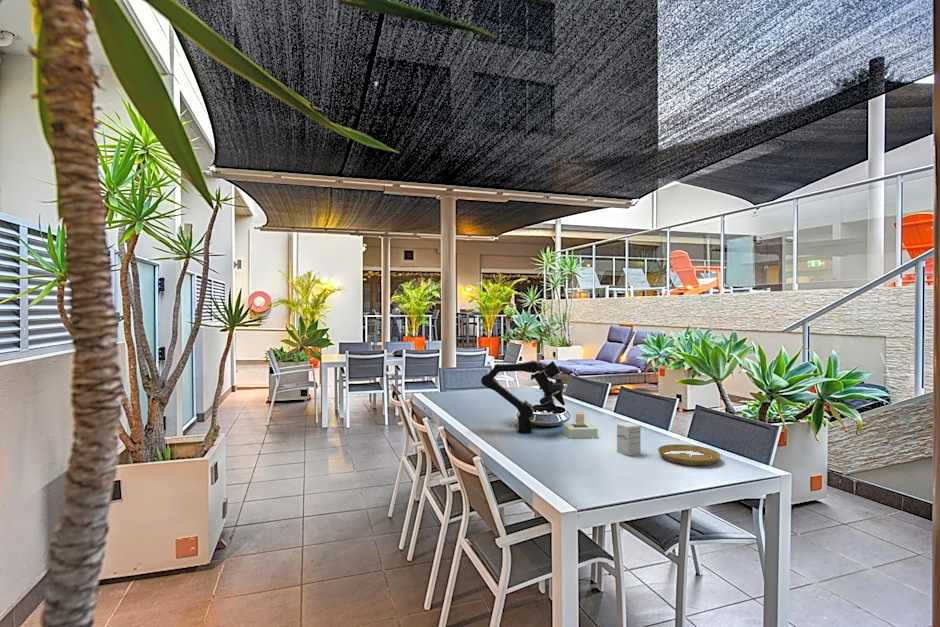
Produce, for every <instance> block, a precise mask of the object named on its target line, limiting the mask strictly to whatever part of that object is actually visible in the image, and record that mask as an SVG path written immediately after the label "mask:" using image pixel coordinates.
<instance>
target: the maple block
mask: <svg viewBox="0 0 940 627" xmlns="http://www.w3.org/2000/svg"><path fill="white" fill-rule="evenodd" d="M575 422H576V428H577V427H584V422H585V412H583V411H576V412H575Z"/></svg>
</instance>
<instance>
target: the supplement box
mask: <svg viewBox="0 0 940 627" xmlns="http://www.w3.org/2000/svg"><path fill="white" fill-rule="evenodd" d="M641 427H642V426H641V425H640V424H637V423H636V424H635V423H633V422H629V421H626V422H625V421H624V422H619V423H617V424H616V452H618V453H620V454H623V455H625V456H629V457H631V456H635V454H637V455H641V446H642V444H641V440H642V439H641V434H642V433H641V432H642V430H641ZM630 455H631V456H630Z"/></svg>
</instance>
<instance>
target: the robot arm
mask: <svg viewBox="0 0 940 627" xmlns="http://www.w3.org/2000/svg"><path fill="white" fill-rule="evenodd" d="M500 372H501V373H502V372H525V373H530V376H531V377H530V381H532V380H535V381H536V383H537V384H538V386H539V388H538V389H539V390H540V391H542V392H543V397H541V398H540V399H539V404H540V405H541V406H544V407H547V408H549V410H551V411H553V412H555V413H559V410H558V408H557V406H556V404H555V403H554V402H555V399H556V400H557V401H558V402H559V404H561V405H562V406H563V407H564V406H566V403H565V399H564V397H563V392H564V389H565V386H564V385H565V382H564V381H563V379H561V378H558V379H557V380H556V381H555V382H553V380H550V379H549V378H554V377H556V376H557V375H558V374H560V373H561V369H560V368H559V366H558V365H556V363H555V361H554V360H553V361H552V360H551V362H549V363H547V365H542V364H540V363H539V362H538V360H537V361H536V360H530V361H525V362H521V363H505V364H504V363H501V364H500V363H496V364H495V365H494V367H493V368H492V369H491V370H490V371H489V372H488V373H486V374H484V375H483V376H482V378H481V380H480V381H481V385H482V386H484V387H486V388H487V389H489V390H492V391H494V392H496V394H499V395H500V396H501V397H502V398H503V399H505V400H506V401H508V403H510V404H511V405H513V406H514V407H515V409H516V410H517V411H518V412H519V414H518V416H517V429H516V430H518V431H517V433H519V434H525V433H524V432H531V433H532V430H533V428H532V426H533V425H532V422H531V419H530V418H532V417H533V415H534V412H535V411H534V407H533V404H532V403H529V401H527V400H524V401H522V400H520V399H519V398H518V397H517V396H515V395H514V394H513V393H512V392H510V391H509V390H507V389H506V388H505V387H503V386H502V385H501V384H500V383H499V381H498V380H497V379H496V377H497V375H498V374H499V373H500Z"/></svg>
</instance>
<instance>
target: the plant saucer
mask: <svg viewBox="0 0 940 627" xmlns="http://www.w3.org/2000/svg"><path fill="white" fill-rule="evenodd" d="M657 450H658V453H659V454H660V456H662V457H663V458H664V459H666V460H667V461H669V462H671V461H672V462H671V463H674V462H676V463H675V464H678V463H680V464H679V465H683V464H685V465H684V466H691V465H705V466H710V464H711V465H713V464H714V463H716V462H718V461H719V460H720V458H721V456H722V455H721V453H720V452H719V451H717V450H714V449H711V448H709V447H708V448H707V447H704V446H699V445H691V444H681V443H679V444H677V443H676V444H675V443H674V444H667V445H662V446H659V447H658V448H657ZM670 451H693V452H699V453H701V454H704V455H692V456H691V455H690V454H686V453H680V454H679V453H678V454H671V453H670V454H664V453H666V452H670ZM689 455H690V456H691V457H690V456H689ZM711 457H712V458H711Z"/></svg>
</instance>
